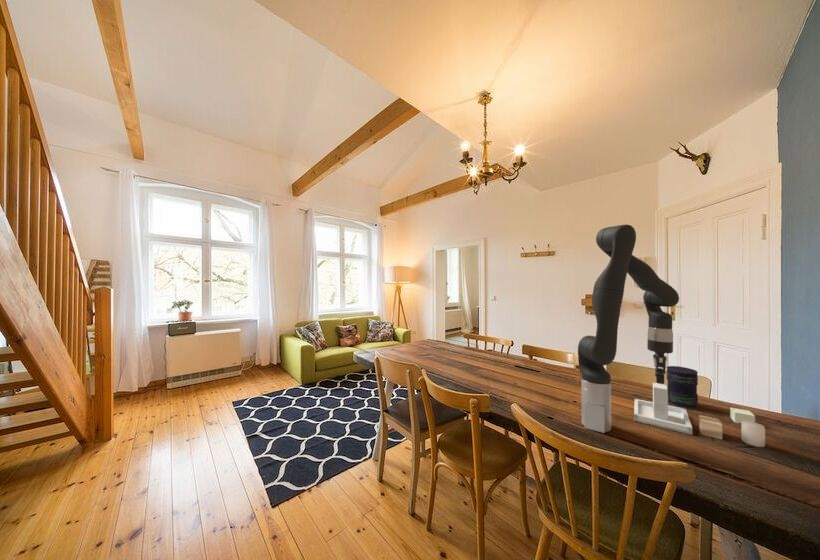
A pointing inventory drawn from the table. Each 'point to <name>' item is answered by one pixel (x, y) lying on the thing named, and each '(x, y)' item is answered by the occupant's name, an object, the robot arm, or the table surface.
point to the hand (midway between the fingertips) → (659, 380)
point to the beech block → (710, 427)
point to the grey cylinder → (753, 433)
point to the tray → (675, 422)
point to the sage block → (741, 415)
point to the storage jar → (682, 387)
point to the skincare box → (660, 401)
